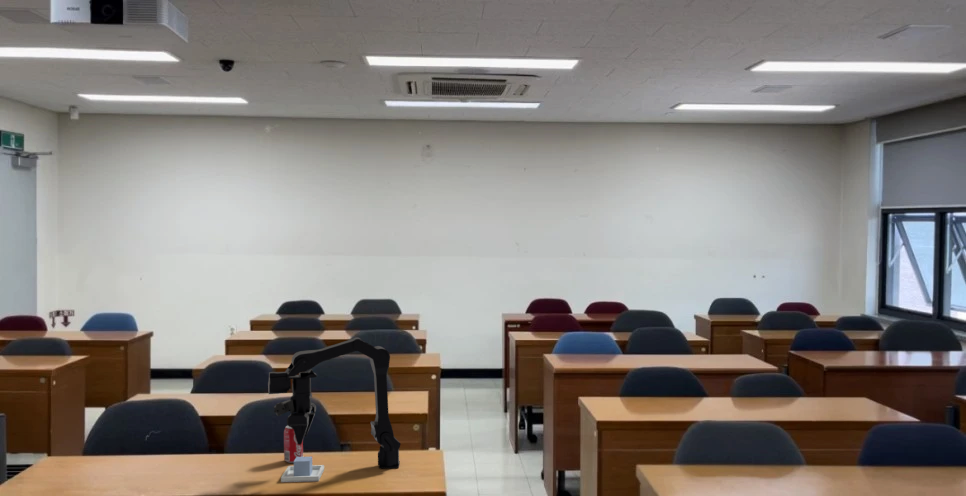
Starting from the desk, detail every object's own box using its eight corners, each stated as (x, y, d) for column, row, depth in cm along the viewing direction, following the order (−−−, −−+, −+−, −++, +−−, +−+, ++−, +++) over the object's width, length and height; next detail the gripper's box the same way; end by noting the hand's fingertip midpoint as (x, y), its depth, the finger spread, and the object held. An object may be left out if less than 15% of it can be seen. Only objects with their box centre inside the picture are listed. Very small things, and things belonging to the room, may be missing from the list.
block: (312, 471, 246) (312, 456, 246) (309, 476, 241) (309, 461, 241) (296, 472, 246) (296, 456, 246) (293, 477, 241) (293, 461, 241)
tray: (324, 469, 249) (324, 465, 249) (318, 481, 238) (318, 476, 238) (288, 470, 249) (288, 465, 249) (281, 482, 237) (281, 477, 237)
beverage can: (305, 458, 262) (305, 424, 261) (299, 464, 256) (298, 428, 255) (288, 458, 262) (287, 423, 262) (281, 463, 256) (280, 428, 256)
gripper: (282, 386, 251) (282, 433, 252) (269, 398, 233) (270, 449, 233) (316, 385, 252) (316, 432, 252) (306, 398, 234) (306, 448, 234)
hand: (302, 440), depth 243 cm, fingers open, 9 cm apart
